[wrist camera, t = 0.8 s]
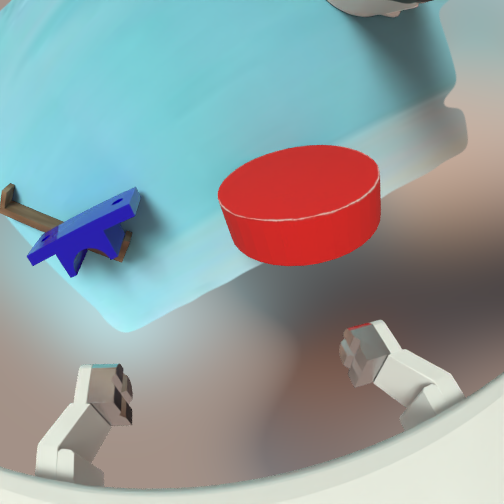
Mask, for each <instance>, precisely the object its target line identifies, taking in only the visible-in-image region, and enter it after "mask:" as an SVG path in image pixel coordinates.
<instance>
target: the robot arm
mask: <svg viewBox="0 0 504 504" xmlns="http://www.w3.org/2000/svg"><path fill="white" fill-rule="evenodd" d="M327 1H328V2H330V3H331V4H332V5H333V6H335V7H336V8H338V9H340V10H342V11H344V12H346V13H348V14H351V15H355V16H362V17H368V16H374V15H383V16H387V17H397V16H399V14H400V12H401V11H402V10H406V9H411V8H415V7H417V6H418V4H419V3H425V2H428V1H432V0H327ZM343 336H344V338H345V339H344V340H343V341H342V342H341V343H340V347H339V354H340V358H341V361H342V363H343V365H344V366H346V367H347V368H349V372H348V375H349V378H350V380H351V382H352V384H353V385H354V388H355V387H359V386H362V385H365V384H369V383H372V382H374V384H375V385H377V386H378V387H379V388H381V389H382V390H383V391H385V392H386V393H387V394H389V395H390V396H391V397H393V398H394V399H395V400H397V401H398V402H399V403H401V404H402V405H404V406H405V407H406V408H407V409H406V410H405V411H404V413H403V414H402V415H401V416H400V419H399V420H400V422H401V424H402V426H403V428H404V430H405V431H404V432H402V433H400V434H398V435H396V436H394V437H391V438H389V439H387V440H384V441H382V442H379V443H377V444H375V445H372V446H370V447H367V448H365V449H362V450H359V451H357V452H354V453H351V454H348V455H345V456H342V457H339V458H336V459H333V460H330V461H327V462H324V463H321V464H317V465H314V466H310V467H307V468H303V469H299V470H295V471H291V472H287V473H283V474H278V475H274V476H269V477H264V478H259V479H253V480H248V481H242V482H235V483H228V484H221V485H211V486H201V487H189V488H167V489H135V488H133V489H132V488H114V487H104V473H103V471H102V470H100V469H99V468H97V467H96V466H94V465H93V464H91V462H92V461H93V459H94V457H95V456H96V454H97V452H98V450H99V449H100V447H101V445H102V443H103V442H104V440H105V438H106V436H107V435H108V433H109V431H110V429H111V426H128V425H132V409H131V407H130V406H129V403H130V402H131V401H132V396H133V395H132V394H133V393H132V386H131V382H130V380H129V378H128V376H127V375H125V374H123V367H122V366H121V364H95V365H94V364H90V365H81V367H80V368H79V372H78V378H77V385H76V391H75V397H74V403H70V404H69V406H68V407H67V408H66V409H65V411H64V412H63V413H62V414H61V416H60V417H59V418H58V419H57V421H56V422H55V423H54V425H53V426H52V427H51V428H50V430H49V431H48V432H47V433H46V435H45V436H44V437H43V439H42V440H41V441H40V442H39V444H38V449H37V450H38V451H37V459H36V472H35V476H32V475H28V474H24V473H20V472H16V471H13V470H9V469H6V468H3V467H0V504H504V372H503V373H502V374H500V375H499V376H497V377H496V378H495V379H493V380H492V381H490V382H489V383H488V384H486V385H485V386H483V387H482V388H480V389H479V390H477V391H476V392H474V393H473V394H471V395H470V396H468V397H467V398H465V396H464V394H463V393H462V391H461V389H460V388H459V386H458V385H457V383H456V381H455V380H454V378H453V377H452V375H451V374H450V373H448V372H446V371H444V370H443V369H441V368H439V367H437V366H435V365H434V364H432V363H430V362H428V361H426V360H424V359H422V358H421V357H419V356H417V355H415V354H414V353H412V352H410V351H408V350H406V349H405V350H402V349H401V347H400V345H399V344H398V342H397V341H396V339H395V338H394V336H393V335H392V333H391V332H390V330H389V329H388V327H387V326H386V324H385V323H384V322H383V321H382V320H378V321H374V322H371V323H365V324H362V325H358V326H354V327H351V328H347V329H346V330H345V331H344V334H343Z"/></svg>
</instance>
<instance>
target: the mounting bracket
mask: <svg viewBox="0 0 504 504" xmlns="http://www.w3.org/2000/svg"><path fill="white" fill-rule="evenodd" d="M140 199H141V197H140V194H139V192H138V190H137V188H136V187H134V188H132V189H130V190H128V191H125V192H123V193H121V194H119V195H117V196H115V197H113V198H111V199H109V200H106V201H104V202H102V203H100V204H98V205H96V206H94V207H92V208H90V209H88V210H86V211H84V212H82V213H81V214H79V215H77V216H75V217H73V218H71V219H69V220H67V221H65V222H64V223H62V224H60V225H58V226H56V227H54V228H53V229H51V230H49V231H47V232H46V233H44V234H43V235H42V236H41V237H40V239H39V240H38V241H37V243H36V244H35V245H34V247H33V248H32V249H31V251H30V252H29V253H28V255H27V258H28V259H29V261H30V262H31V264H32V265H33V266H34V265H36V264H38V263H40V262H42V261H43V260H45V259H47V258H49V257H51V256H53V255H55V254H56V256H57V257H58V259H59V260H60V262H61V264H62V265H63V267H64V268H65V270H66V271H67V273H68V274H69V276H70V277H74V276H76V275H77V274H78V271H79V269H80V267H81V264H82V262H83V260H84V258H85V256H86V253H87V251H88V250H87V248H94V249H98V250H100V251H102V252H104V253H105V254H106V255H107V256H108V257H109V258H110V260H112V259H114V258H116V257H118V255H119V252H120V248H121V245H122V241H123V238H124V235H125V232H124V231H123V229H122V227H121V225H120V223H121V222H123V221H125V220H127V219H130V218H132V217H134V216H135V215H136V212H137V208H138V205H139V202H140Z"/></svg>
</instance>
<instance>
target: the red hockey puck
mask: <svg viewBox="0 0 504 504" xmlns="http://www.w3.org/2000/svg"><path fill="white" fill-rule="evenodd" d="M218 200H219V203H220V206H221V209H222V212H223V214H224V217H225V220H226V223H227V226H228V228H229V231H230V234H231V237H232V239H233V241H234V244H235V245H236V246H237V248H238V249H239V250H240V251H241V252H243V253H244V254H245V255H247V256H248V257H250V258H253V259H255V260H257V261H260V262H264V263H268V264H273V265H282V266H304V265H311V264H318V263H322V262H326V261H329V260H333V259H336V258H339V257H341V256H343V255H346V254H348V253H350V252H352V251H353V250H355V249H357V248H358V247H360V246H362V245H363V244H364V243H365V242H366V241H367V240H368V239H370V238H371V236H372V235H373V234H374V232H375V231H376V229H377V227H378V225H379V222H380V215H381V201H380V171H379V168H378V165H377V164H376V163H375V161H374V160H373V159H372V158H370V157H369V156H368V155H366V154H364V153H362V152H360V151H357V150H354V149H350V148H346V147H340V146H332V145H310V146H300V147H294V148H288V149H283V150H279V151H275V152H272V153H269V154H266V155H263V156H261V157H258V158H256V159H254V160H251V161H249V162H247V163H245V164H244V165H242V166H240V167H239V168H237V169H236V170H235V171H233V172H232V173H231V174H230V175H229V176H228V177H227V178H226V179H225V180H224V181H223V182H222V184H221V185H220V188H219V191H218Z"/></svg>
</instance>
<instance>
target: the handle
mask: <svg viewBox="0 0 504 504" xmlns="http://www.w3.org/2000/svg"><path fill="white" fill-rule="evenodd" d="M14 186H15V185H14V184H11V183H10V184H9V185H8V186H6V187H5V188H4V189H3V190H2V194H1V202H0V213H1V214H3V215H6V216H8V217H10V218H12V219H15V220H17V221H19V222H21V223H24V224H26V225H28V226H31V227H33V228H36V229H38V230H40V231H43V232H45V233H46V232H47V231H49V230H51V229H53V228H54V227H56V226H58V225H60V224H62V223H64V222H63V221H60V220H58V219H55V218H53V217H50V216H48V215H46V214H43V213H41V212H38V211H36V210H34V209H31V208H29V207H26V206H24V205H22V204H19V203H17V202H15V201H12V198H13V192H14ZM131 236H132V232H130V231H126V234H125V236H124V239H123V242H122V245H121V248H120V252H119V255H118V257H116V258H114V260H116V261H119V262H122V261H123V258H124V256H125V253H126V251H127V248H128V246H129V243H130V240H131ZM87 250H90V251H93V252H95V253H98V254H101V255H103V256H106V257H108V256H107V255H106V254H105V253H104V252H102V251H100V250H98V249H94V248H87ZM108 258H109V257H108Z"/></svg>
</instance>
